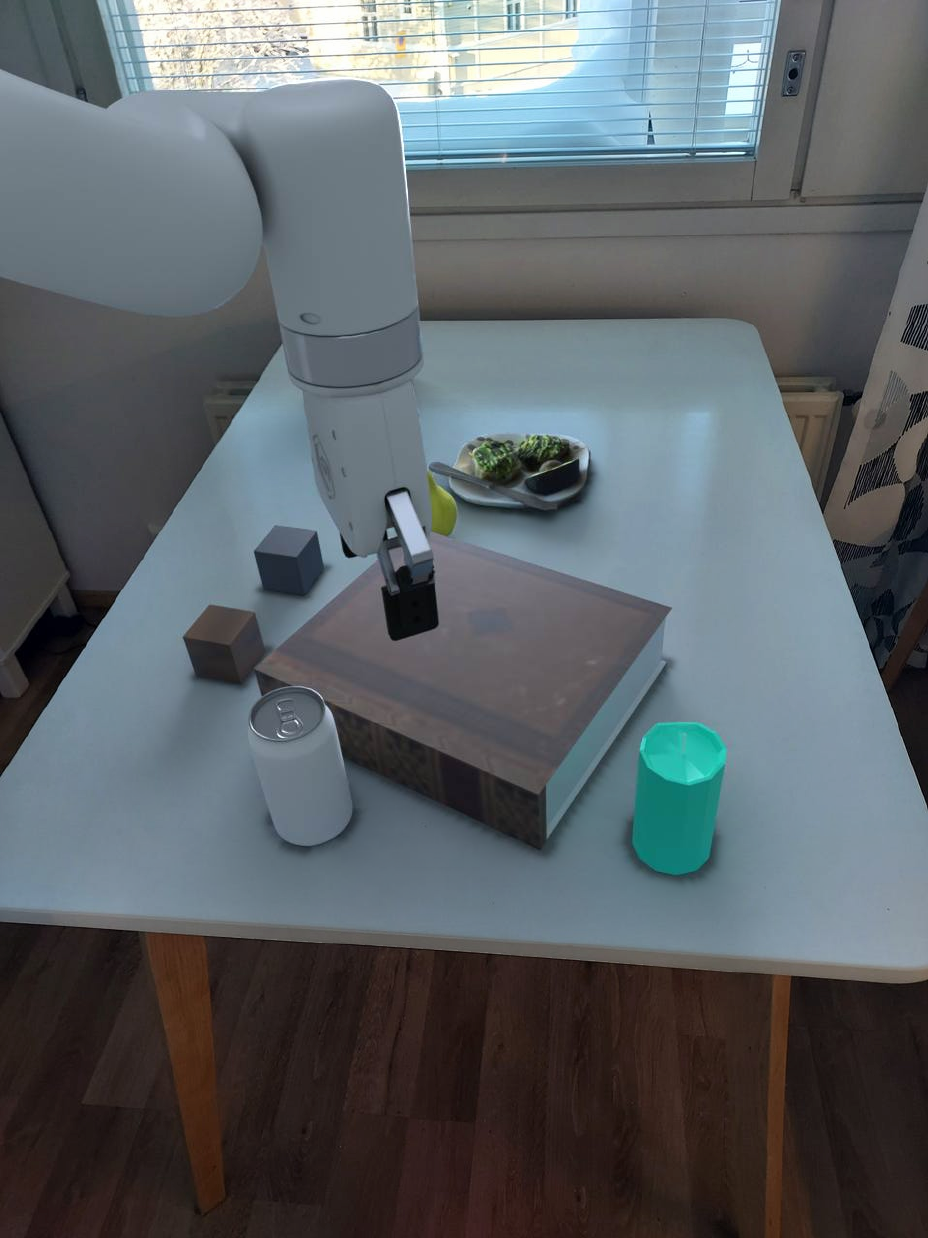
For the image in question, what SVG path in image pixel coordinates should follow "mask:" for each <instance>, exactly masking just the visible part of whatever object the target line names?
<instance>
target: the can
mask: <svg viewBox="0 0 928 1238" xmlns="http://www.w3.org/2000/svg"><path fill="white" fill-rule="evenodd" d="M247 721H248V728H247V741H248V746H249V749H250V752H251V756H252V759H253V763H254V766H255V769H256V772H257V776H258V779H259V782H260V786H261V789H262V792H263V795H264V798H265V802H266V805H267V808H268V811H269V815H270V818H271V821H272V823H273V827H274V829H275V832H277V834H278V836H279V837H281V838H282V839H283V840H284V841H286V842H288V843H290V844H292V845H296V846H303V847H313V846H319V845H321V844H324V843H327V842H329V841H331V840H332V839H334V838H336V837H337V836H339V835H340V834H341V833H343V831H344V830H345V829H346V828H347V826H348V825H349V823H350V821H351V819H352V815H353V801H352V800H353V799H352V796H351V795H352V794H351V790H350V786H349V782H348V777H347V776H348V775H347V772H346V767H345V762H344V757H342V753H341V748H340V744H339V739H338V735H337V730H336V726H335V722H334V718H333V715H332V713H331V711H330V710H329V708H328V707H327V706H326V705H325V703H324V700H323V698H322V697H321V696H320V695H319V694H318V693H317V692H315V691H314V690H312V689H309V688H306V687H301V686H288V687H282V688H279V689H276V690H273V691H271V692H269V693H267V694H265V695H264V696H261V697H260V698H258V700H257V701H255V703H254V704H253V705H252V707H251V708H250V711H249V713H248V720H247Z"/></svg>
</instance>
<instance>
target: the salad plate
mask: <svg viewBox="0 0 928 1238" xmlns="http://www.w3.org/2000/svg"><path fill="white" fill-rule="evenodd" d="M591 455H592V453H591V450H590V449H589V447H588V445H587V444H585V443H584V442H583V441H581V440H579V439H577V438H575V437H573V436H570V435H566V434H556V433H553V434H552V433H551V434H549V433H548V434H547V433H546V434H545V433H542V434H541V433H533V434H530V433H516V432H513V433H512V432H492V433H491V432H490V433H486V434H482V435H479V436H476V437H474V438H471V439H470V440H468V441H467V442H466V443H464V445H462V447H461V448H460V450H459V452H458V455H457V457H456V460H455V462H454V464H453V465H452V466H450V465H448V464H445V463H444V462H441V461H433V462H431V463H429V464H428V467H427V469H428V471H429V472H431V473H434V474H435V475H438V476H440V477H442V478H444V479H445V480H446V481H447V482H448V485H449V488H450V490H451V491H452V492H454V494H456V495H457V496H458V497H460V498H461V499H462V500H464V501H466V502H468V503H472V504H476V505H480V506H485V507H494V508H495V507H497V508H507V509H515V510H522V511H529V512H531V511H533V512H534V511H535V512H541V511H542V512H547V511H548V512H549V511H554V510H558V509H563V508H564V507H566V506H568V505H571V504H572V503H573V502H575V501H576V500H577V499H578V498H579V497H580V495H581V493H582V492H583V490H584V488H585V485H586V483H587V482H588V474H589V469H590V466H591V462H592V459H591Z"/></svg>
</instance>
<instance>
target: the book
mask: <svg viewBox="0 0 928 1238" xmlns="http://www.w3.org/2000/svg"><path fill="white" fill-rule="evenodd" d="M427 540H428V542H429V545H430V547H431V549H432V552H433V557H434V561H433V565H434V568H433V570H434V571H435V573H434V575H435V591H436V600H437V610H438V619H439V625H438V627H437V628H435V629H433V630H430V631H427V632H424V633H420V634H417V635H414V636H411V637H408V638H404V639H401V640H398V641H393V640H391V638H390V636H389V634H388V630H387V624H386V617H385V610H384V604H383V597H382V591H381V587H383V586H385V585H386V583H385V579H384V576H383V573H382V570H381V566H380V563H379V560H378V559H377V560H376V561H374V563H373V564H371V565H370V566H369V567H367V569H365V570H364V571H363V572H362V573H361V574H360V575H359V576H357V577H356V578H355V579H354V580H353V581H352V582H350V584H348V585H347V586H346V587H345V588H344V589H343V590H341V592H339V593H338V594H337V595H336V596H335V597H333V598H332V599H331V600H330V601H329V602H328V603H326V605H324V606H323V607H322V608H321V609H320V610H318V611H317V613H315V614H314V615H313V616H312V617H311V618H309V619H308V620H307V621H306V622H305V623H304V624H303V625H301V626H300V627H299V628H298V629H297V630H296V631H294V633H292V634H291V635H290V636H289V637H288V638H287V639H286V640H284V641H283V642H282V643H281V644H280V645H279V646H278V647H277V648H275V649H274V650H273V651H272V652H271V653H270V654H268V656H266V657H265V658H264V659H262V661H260V662H259V663H258V664H256V665H255V666H254V667H253V671H254V674H255V679H256V681H257V685H258V689H259V692H260V696H261V697H262V696H264V695H265V694H267V693H269V692H271V691H273V690H276V689H279V688H282V687H288V686H301V687H306V688H309V689H312V690H314V691H315V692H317V693H318V694H319V695H320V696H321V697H322V698H323V700H324V703H325V705H326V706H327V707H328V708H329V710H330V711H331V713H332V715H333V718H334V722H335V726H336V730H337V735H338V739H339V744H340V748H341V753H342V757H343V759H347V760H349V761H352V762H353V763H355V764H357V765H360V766H361V767H364V768H366V769H367V770H370V771H373V772H374V773H376V774H379V775H381V776H383V777H385V778H387V779H389V780H391V781H393V782H395V783H398V784H399V785H402V786H403V787H406V788H408V789H410V790H412V791H414V792H416V793H419V794H421V795H423V796H425V797H427V798H429V799H431V800H433V801H435V802H438V803H440V804H442V805H444V806H446V807H448V808H449V809H450V808H451V809H452V810H454V811H457V812H458V813H461V814H463V815H465V816H467V817H469V818H471V819H473V820H475V821H478V822H480V823H482V824H483V825H486V826H488V827H491V828H493V829H495V830H497V831H499V832H501V833H503V834H505V835H507V836H510V837H512V838H513V839H516V840H518V841H520V842H522V843H524V844H526V845H529V846H530V847H532V848H535V849H537V850H539V851H540V850H541V849H542V847H543V846H544V844H545V843H546V841H547V840H548V839H549V838H550V836H551V834H552V833H553V831H554V830H555V828H556V827H557V825H558V824H559V823H560V821H561V819H562V818H563V816H564V815H565V813H566V812H567V810H568V809H569V807H571V804H572V803H573V801H574V800H576V797H577V796H578V794H579V793H580V791H582V788H583V787H584V785H585V784H586V783H587V782H588V779H589V778H590V777H591V775H592V774H593V773H594V770H595V769H596V768H597V767H598V765H599V763H600V762H601V761H602V759H603V757H604V756H605V754H606V753H607V752H608V750H609V749H610V747H611V746H612V744H613V742H614V741H615V740H616V738H617V737H618V736H619V734H620V732H621V731H622V729H623V728H624V727H625V725H626V723H627V722H628V720H629V719H630V718H631V716H632V715H633V713H634V712H635V710H636V709H637V707H638V706H639V704H640V702H642V700H643V699H644V697H645V695H646V694H647V693H648V691H649V690H650V688H651V687H652V685H653V684H654V682H655V681H656V679H657V677H658V676H659V675H660V673H661V672H662V670H663V669H664V667H665V666H666V665H667V663H668V662H667V661H665V660H662V659H663V648H664V637H665V627H666V618H667V616H668V615H669V614H670V612H671V611H672V610H673V607H672V606H668V605H665V604H661V603H658V602H655V601H652V600H650V599H645V598H643V597H641V596H640V597H639V596H636V595H634V594H630V593H627V592H623V591H621V590H617V589H614V588H611V587H607V586H605V585H603V584H602V585H601V584H598V583H595V582H592V581H589V580H586V579H582V578H579V577H576V576H573V575H570V574H567V573H564V572H562V571H557V570H554V569H551V568H547V567H545V566H542V565H538V564H535V563H532V562H529V561H525V560H522V559H519V558H517V557H512V556H511V555H508V554H505V553H500V552H497V551H494V550H491V549H488V548H485V547H482V546H478V545H475V544H472V543H469V542H466V541H462V540H459V539H456V538H454V537H450V536H448V537H447V536H444V535H441V534H437V533H434V532H431V533H430V535H429V537H428V538H427ZM389 553H390V557H391V560H392V563H393V566H394V570H395V572H396V571H397V570H398V569H399V567H401V566H405V565H406V564H405V562H404V552H403V549H402V548H398V549H395V550H391V551H389Z"/></svg>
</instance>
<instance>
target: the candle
mask: <svg viewBox="0 0 928 1238" xmlns="http://www.w3.org/2000/svg"><path fill="white" fill-rule="evenodd" d="M727 753H728V748H727V747H726V744H725V743H724V742H723V740H722V738H721V736H720V734H719V732H718V731H715V730H713V728H712V729H711V728H710V727H709V726H706V725H705V724H703V723H701V722H697V721H695V722H693V721H673V722H672V721H671V722H656V723H655V724H654V725H653V726H652V728H650V729H649V730H648V732H646V733H645V734H644V735H643V736H642V739H641V743H640V747H639V752H638V763H637V764H638V766H637V777H636V790H635V800H634V801H635V802H634V812H633V813H634V815H633V824H632V825H633V827H632V839H631V844H632V845H633V848H634V850H635V852H636V854H637V857H638V860H640V861H641V862H643V863H644V864H646V865H647V866H648V867H649V868H651V869H653V870H654V871H655V872H659V873H662V874H663V873H664V874H667V875H668V874H669V875H672V876H680V875H684V874H688V873H692V872H697V871H698V870H699V869H700V868H701V867H702V866H703V865H704V864H705V863H707V861H708V860H709V859H710V855H711V849H712V844H713V838H714V832H715V827H716V821H717V820H716V819H717V814H718V808H719V802H720V797H721V791H722V785H723V779H724V773H725V767H726V759H727Z"/></svg>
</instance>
